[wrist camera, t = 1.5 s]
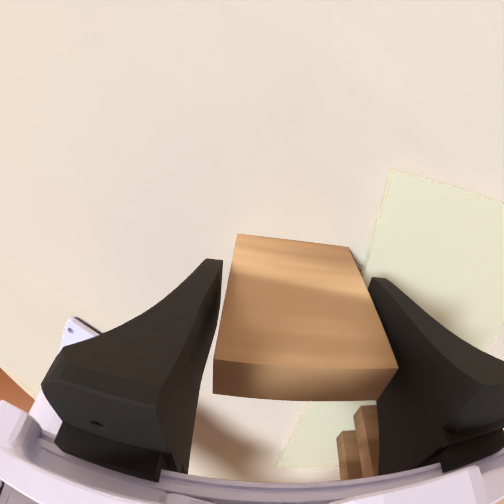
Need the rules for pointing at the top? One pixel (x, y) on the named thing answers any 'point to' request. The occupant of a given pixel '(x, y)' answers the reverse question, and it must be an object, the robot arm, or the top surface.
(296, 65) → the top surface
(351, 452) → the domino
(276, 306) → the domino
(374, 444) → the domino
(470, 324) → the sage mat
